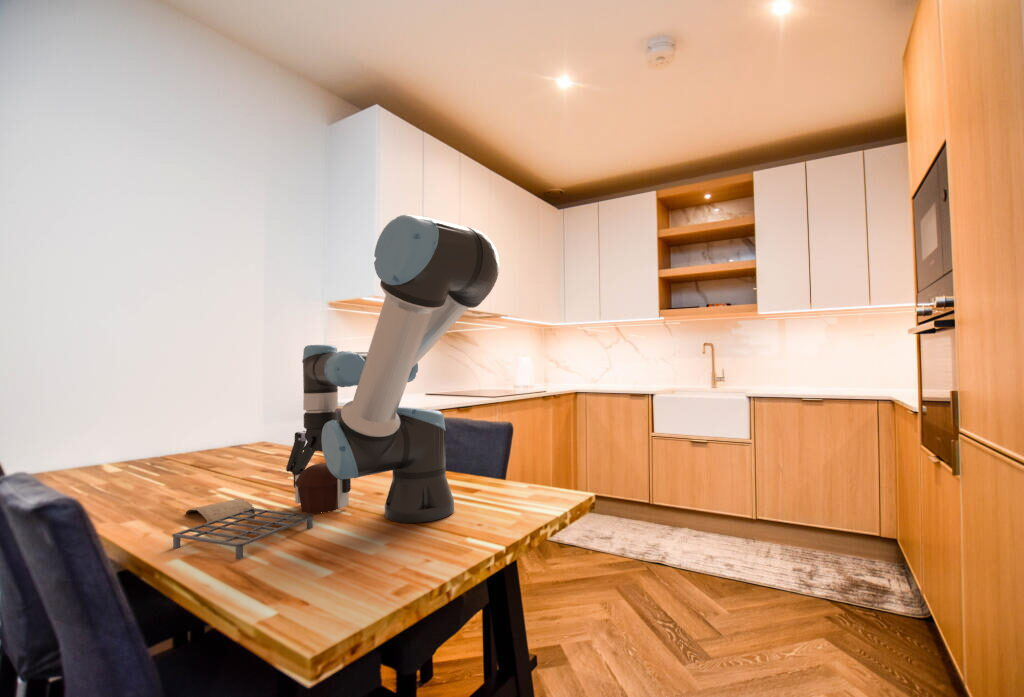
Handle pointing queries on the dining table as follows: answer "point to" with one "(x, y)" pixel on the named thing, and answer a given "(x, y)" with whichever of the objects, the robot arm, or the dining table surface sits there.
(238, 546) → the cooling rack
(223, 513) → the curved bark piece
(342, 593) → the dining table surface
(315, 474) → the muffin
